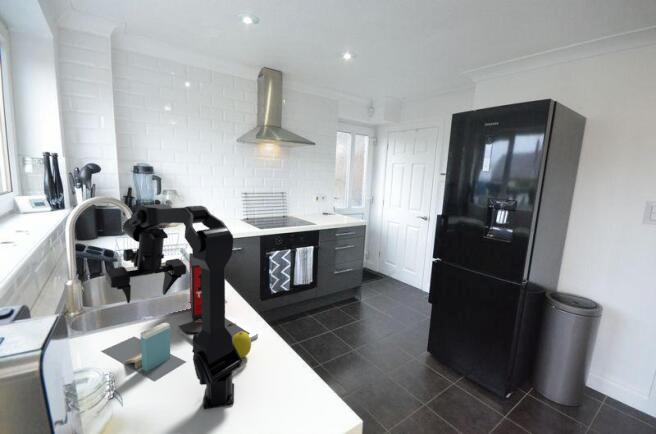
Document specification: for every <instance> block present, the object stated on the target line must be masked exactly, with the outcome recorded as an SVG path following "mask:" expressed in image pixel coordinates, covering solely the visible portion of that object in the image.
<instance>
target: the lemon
mask: <svg viewBox="0 0 656 434" xmlns="http://www.w3.org/2000/svg"><path fill="white" fill-rule="evenodd" d="M232 340H233V344H234V346H235V348H236V350H237V352H238V354H239V356H240V357H241V359H242V358H244V357H246V356H248V355H249V353H250V351H251V348H252V341H251V339H250V336H249V335H248V334H247V333H245V332H242V331H241V332H239V333H237V334H235V335H234V337H233V339H232Z"/></svg>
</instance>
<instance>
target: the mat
mask: <svg viewBox="0 0 656 434" xmlns="http://www.w3.org/2000/svg"><path fill="white" fill-rule="evenodd" d="M101 352H102V353H103V354H105V355H107V356H109V357H110V358H112V359H114V360H116V361H118V362H119V363H121V364H123V365H124V366H127V367H128V368H130V369H132V370H133V371H135V372H136V373H138V374H141V375H142V376H144V377H146V378H147V379H149V380H151V381H152V382H157V380H158V381H159V380H160V379H161V378H163V377H164V376H166V375H167V374H170V373H171V372H173V371H174V370H177V368H179V367H181V366H183V365H184V364H186V363H187V361H186V360H184V359H182V358H180V357H178V356H175V355H174V354H171V353H170V359H168V360H166V361H165V362H163V363H161V364H159V365H158V366H156V367H154V368H152V369H151V370H149V371H145V370H143V369H142V367H140V368H138V369H136V368H135V362H133V363H128V364H127V363H126V361H127V360H129V359H131V358H133V357H135V356H137V355H139V354H141V353H142V351H141V338H139V337H136V336H132V337H130V338H127V339H124V340H123V341H120V342H119V343H118V342H117V343H116V344H114V345H112V346H109V347H106V348H105V349H103V350H101Z"/></svg>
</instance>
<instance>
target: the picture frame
mask: <svg viewBox="0 0 656 434" xmlns="http://www.w3.org/2000/svg"><path fill="white" fill-rule="evenodd" d="M225 327H226V329H227V330H228V331H229V332H230V334H231V335H232V339H233V337H234V335H235V334H237V333H239V332H241V331H242V332H245V333H247V334H248V335H249V336H250V339H251V342H252V341H254V340H256V339H258V338H259V333H258V332H256V331H254V330H253V329H251V328H249V327H248V326H246V325H244V324H242V322H240V321H238V320H236V319H235V318H233V317H232V316H230V315H228V314H226V313H225ZM201 330H202V320H196V321H193V320H192V321H189V322H187V323H182V324H180V325H178V329H177V331H178V332H179V333H180V334H181V335H182V336H184V337H185V338H186V339H187V340H189V341H190V342H191V343H192V344H193V340H192V339H193V336H194V335H195V334H198V333H200V332H201Z"/></svg>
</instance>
